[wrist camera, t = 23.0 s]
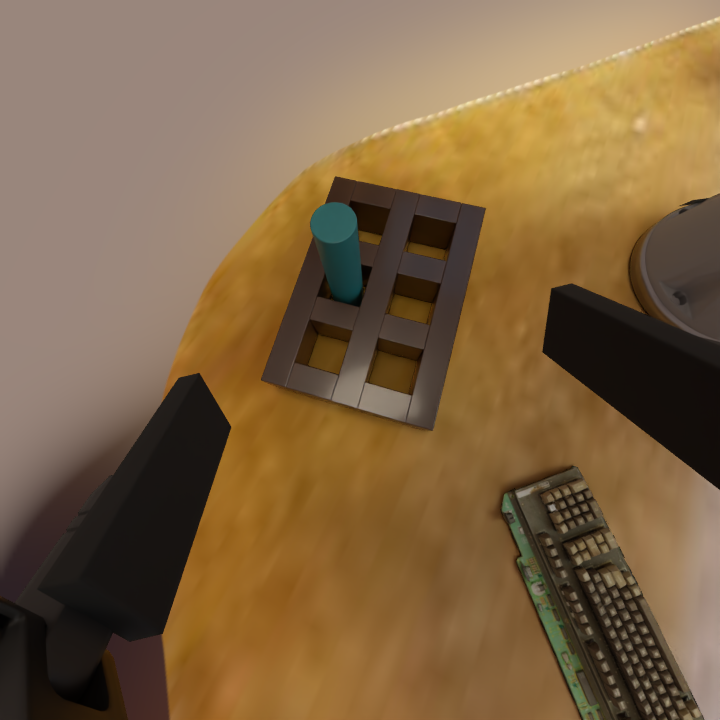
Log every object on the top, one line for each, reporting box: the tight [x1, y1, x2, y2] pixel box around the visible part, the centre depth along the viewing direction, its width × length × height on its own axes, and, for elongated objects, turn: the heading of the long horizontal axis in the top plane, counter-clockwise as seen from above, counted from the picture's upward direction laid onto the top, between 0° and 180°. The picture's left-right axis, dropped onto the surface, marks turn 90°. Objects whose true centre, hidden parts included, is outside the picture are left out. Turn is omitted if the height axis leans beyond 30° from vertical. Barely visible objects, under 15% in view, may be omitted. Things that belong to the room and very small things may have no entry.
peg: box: [310, 202, 364, 307], centre depth 27 cm, size 3×3×13 cm
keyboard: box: [501, 466, 704, 720], centre depth 25 cm, size 22×9×2 cm, turn 19°
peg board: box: [261, 176, 486, 431], centre depth 31 cm, size 16×22×4 cm
